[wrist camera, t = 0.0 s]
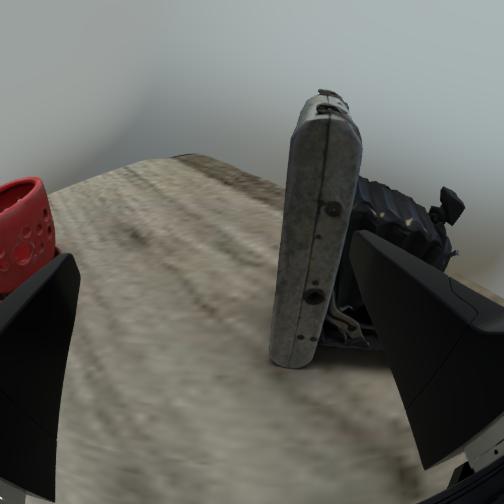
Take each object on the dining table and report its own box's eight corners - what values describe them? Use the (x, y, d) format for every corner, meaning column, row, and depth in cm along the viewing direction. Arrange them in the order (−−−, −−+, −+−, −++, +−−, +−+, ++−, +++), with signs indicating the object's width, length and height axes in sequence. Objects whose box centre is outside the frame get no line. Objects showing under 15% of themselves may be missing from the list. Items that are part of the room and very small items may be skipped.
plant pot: (78, 245, 39) (55, 165, 32) (61, 313, 29) (18, 215, 22) (6, 260, 36) (-22, 188, 29) (-22, 324, 26) (-69, 242, 19)
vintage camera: (435, 385, 22) (552, 171, 11) (263, 368, 24) (289, 100, 13) (419, 309, 30) (485, 127, 19) (279, 291, 32) (300, 85, 21)
